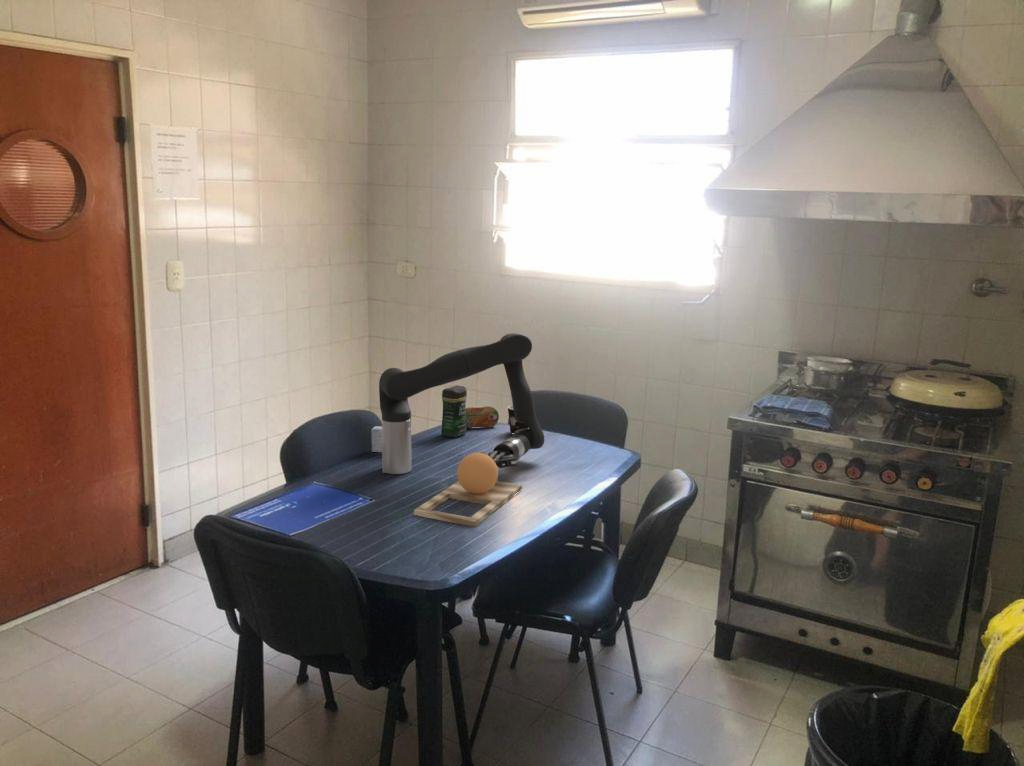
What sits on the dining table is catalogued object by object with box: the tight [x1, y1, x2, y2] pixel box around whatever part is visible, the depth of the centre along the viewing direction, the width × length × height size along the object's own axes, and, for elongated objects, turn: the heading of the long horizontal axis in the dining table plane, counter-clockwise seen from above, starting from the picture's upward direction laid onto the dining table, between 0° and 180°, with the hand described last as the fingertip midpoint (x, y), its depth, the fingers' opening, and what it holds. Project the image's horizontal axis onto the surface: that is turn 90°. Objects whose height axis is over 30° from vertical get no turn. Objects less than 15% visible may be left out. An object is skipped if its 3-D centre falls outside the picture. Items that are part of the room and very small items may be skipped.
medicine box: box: [370, 425, 382, 453], centre depth 279 cm, size 8×4×9 cm, turn 84°
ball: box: [456, 452, 499, 494], centre depth 236 cm, size 12×12×12 cm
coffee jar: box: [441, 385, 468, 438], centre depth 300 cm, size 10×8×19 cm
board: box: [413, 480, 523, 527], centre depth 234 cm, size 32×19×2 cm, turn 156°
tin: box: [466, 405, 500, 429], centre depth 312 cm, size 15×3×8 cm, turn 105°
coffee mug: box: [507, 404, 529, 434], centre depth 304 cm, size 12×9×10 cm
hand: (485, 467), depth 242 cm, fingers closed
